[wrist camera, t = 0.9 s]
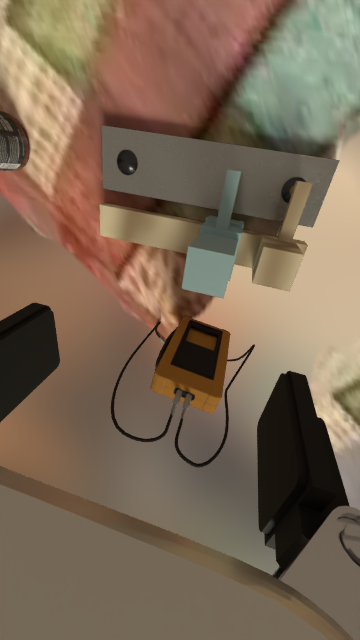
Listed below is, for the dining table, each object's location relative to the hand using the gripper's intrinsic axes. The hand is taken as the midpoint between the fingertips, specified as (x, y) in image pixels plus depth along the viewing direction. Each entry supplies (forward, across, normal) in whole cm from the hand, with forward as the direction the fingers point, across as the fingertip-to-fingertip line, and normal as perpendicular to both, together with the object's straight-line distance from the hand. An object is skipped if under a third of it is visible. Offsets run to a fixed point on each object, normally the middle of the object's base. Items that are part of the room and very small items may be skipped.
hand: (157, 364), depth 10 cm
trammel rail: (+24, +3, -3) cm, 24 cm away
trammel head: (+24, 0, -2) cm, 24 cm away
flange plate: (+24, +3, -6) cm, 25 cm away
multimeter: (+24, 0, +16) cm, 29 cm away
